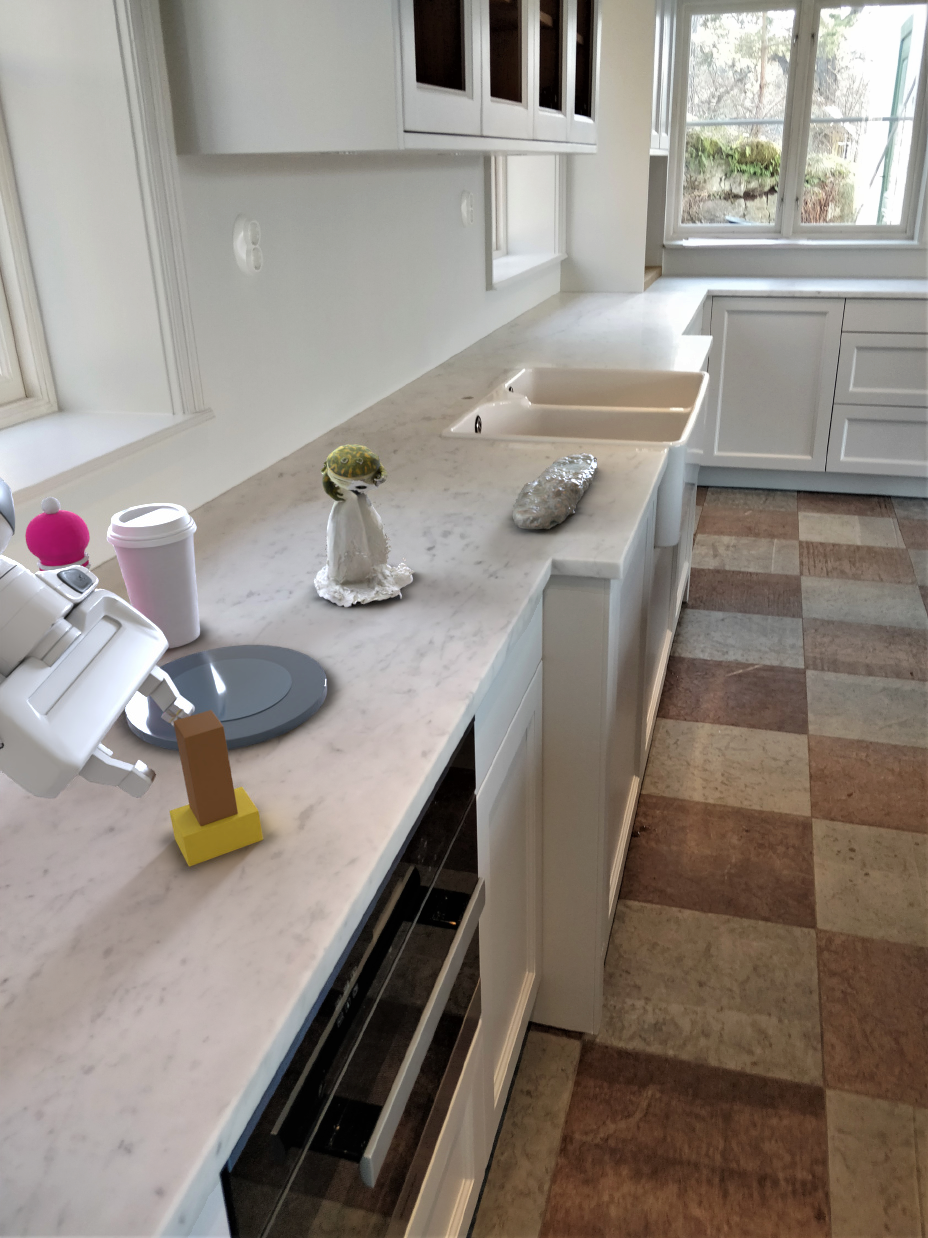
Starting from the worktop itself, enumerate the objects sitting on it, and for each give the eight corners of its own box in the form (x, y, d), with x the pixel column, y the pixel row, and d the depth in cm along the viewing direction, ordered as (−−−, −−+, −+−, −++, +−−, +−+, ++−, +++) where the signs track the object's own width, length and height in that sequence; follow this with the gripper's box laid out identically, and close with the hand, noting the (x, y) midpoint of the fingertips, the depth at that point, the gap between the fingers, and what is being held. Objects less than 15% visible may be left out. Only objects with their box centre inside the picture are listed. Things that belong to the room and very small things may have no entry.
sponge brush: (189, 868, 74) (165, 747, 69) (175, 841, 77) (151, 723, 72) (263, 841, 77) (245, 723, 72) (246, 816, 80) (228, 701, 75)
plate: (155, 777, 85) (153, 765, 85) (107, 686, 101) (104, 675, 101) (359, 712, 94) (358, 701, 94) (285, 638, 110) (284, 628, 110)
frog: (300, 605, 118) (282, 460, 110) (334, 565, 130) (320, 432, 122) (393, 610, 116) (382, 462, 108) (419, 569, 127) (411, 433, 119)
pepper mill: (94, 653, 108) (55, 482, 100) (138, 667, 105) (102, 491, 96) (39, 681, 103) (-7, 502, 94) (84, 696, 99) (41, 512, 91)
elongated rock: (610, 476, 166) (554, 476, 169) (610, 446, 164) (553, 446, 168) (566, 534, 136) (499, 533, 139) (565, 498, 134) (497, 497, 137)
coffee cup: (191, 612, 118) (171, 495, 111) (227, 637, 111) (208, 514, 104) (115, 636, 112) (90, 514, 106) (148, 664, 105) (123, 536, 99)
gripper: (-40, 677, 58) (146, 808, 62) (91, 557, 77) (229, 663, 81) (-90, 741, 61) (93, 864, 64) (49, 609, 79) (185, 710, 83)
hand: (169, 751), depth 73 cm, fingers open, 8 cm apart
